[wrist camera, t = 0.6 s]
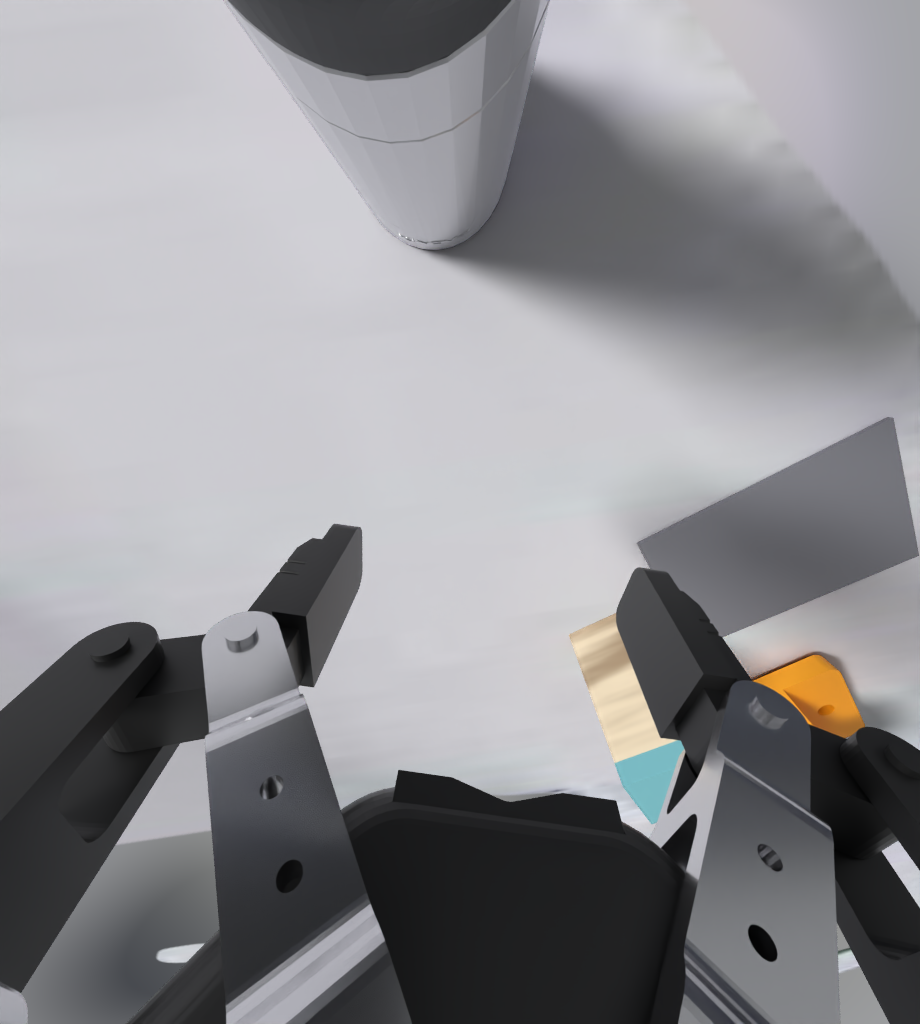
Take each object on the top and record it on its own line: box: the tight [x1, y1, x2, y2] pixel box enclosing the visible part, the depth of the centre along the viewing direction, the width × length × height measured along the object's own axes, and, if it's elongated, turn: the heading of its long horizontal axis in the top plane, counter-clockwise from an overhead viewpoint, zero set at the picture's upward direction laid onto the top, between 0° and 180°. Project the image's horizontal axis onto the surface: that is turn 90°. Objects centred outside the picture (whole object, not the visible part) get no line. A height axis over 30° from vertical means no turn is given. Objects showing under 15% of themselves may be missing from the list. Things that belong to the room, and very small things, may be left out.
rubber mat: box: [637, 417, 919, 637], centre depth 33 cm, size 20×14×1 cm
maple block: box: [569, 613, 684, 824], centre depth 31 cm, size 5×5×14 cm
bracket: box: [753, 655, 865, 738], centre depth 35 cm, size 11×7×12 cm, turn 37°
